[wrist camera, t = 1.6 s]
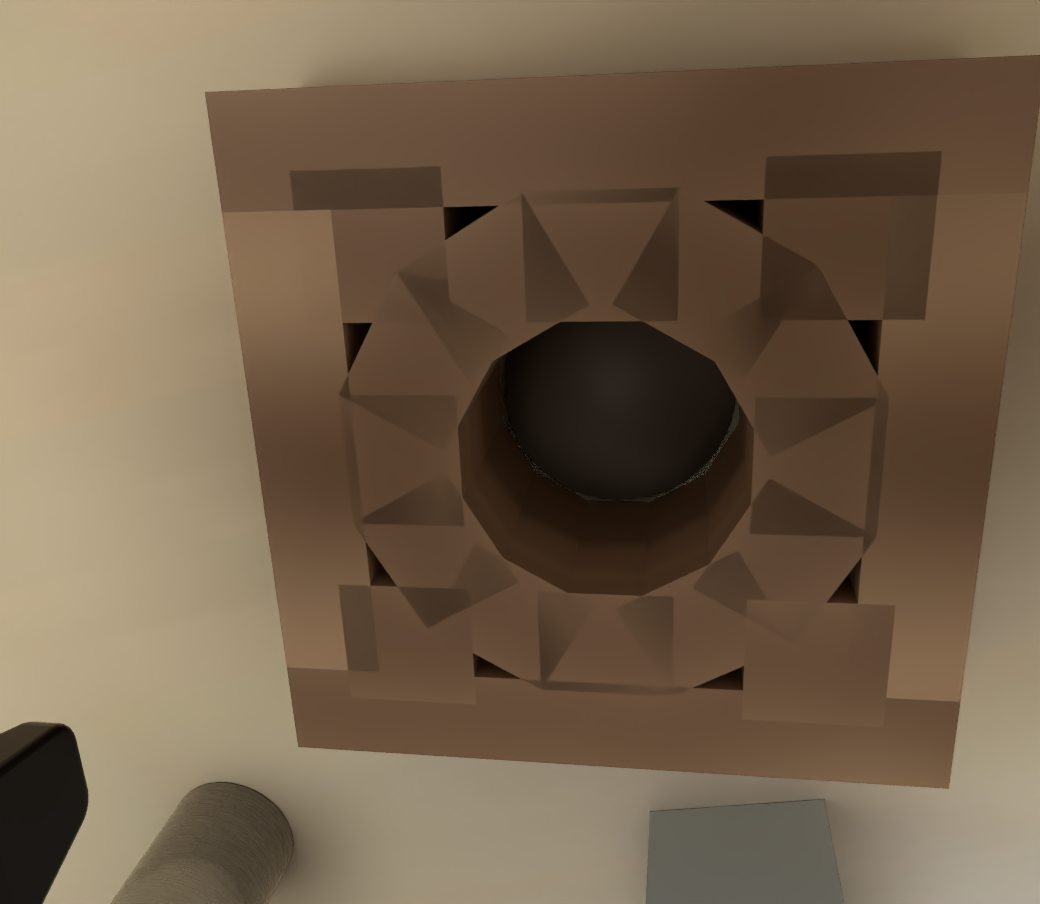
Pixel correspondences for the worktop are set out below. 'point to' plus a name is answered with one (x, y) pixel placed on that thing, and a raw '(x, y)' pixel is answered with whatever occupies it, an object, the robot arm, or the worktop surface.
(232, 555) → the worktop surface
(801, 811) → the gray rectangular block
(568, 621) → the bore block
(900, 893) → the worktop surface
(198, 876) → the cylinder
